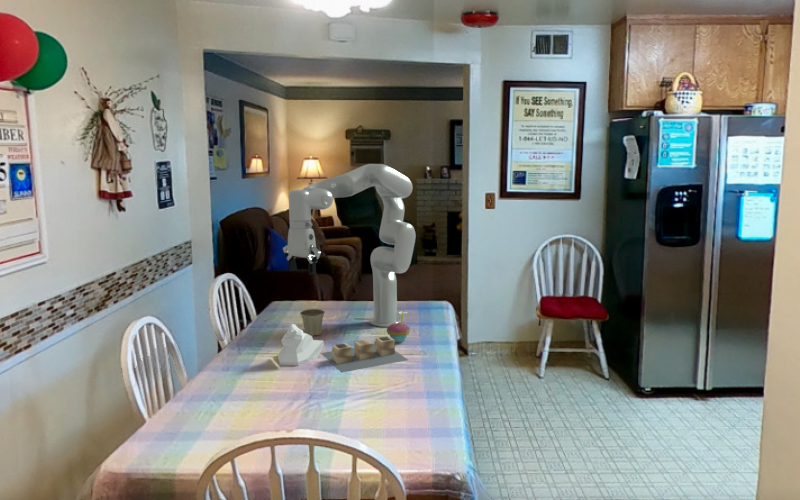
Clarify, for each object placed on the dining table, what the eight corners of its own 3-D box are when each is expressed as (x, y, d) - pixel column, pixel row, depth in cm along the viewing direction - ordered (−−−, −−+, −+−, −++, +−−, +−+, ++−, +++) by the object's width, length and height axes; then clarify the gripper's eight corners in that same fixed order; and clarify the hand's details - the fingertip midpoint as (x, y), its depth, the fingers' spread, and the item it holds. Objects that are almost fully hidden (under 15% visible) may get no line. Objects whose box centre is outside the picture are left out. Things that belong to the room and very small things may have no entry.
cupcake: (410, 338, 220) (410, 307, 218) (408, 345, 212) (408, 314, 210) (388, 337, 221) (387, 307, 219) (385, 345, 213) (384, 313, 211)
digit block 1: (346, 356, 199) (345, 342, 199) (351, 361, 195) (351, 346, 194) (332, 359, 197) (332, 344, 196) (337, 363, 193) (337, 348, 192)
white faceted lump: (314, 372, 191) (306, 336, 186) (272, 373, 195) (262, 337, 189) (325, 351, 203) (317, 315, 197) (285, 351, 206) (276, 317, 200)
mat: (383, 344, 214) (383, 342, 214) (408, 361, 196) (408, 359, 196) (321, 354, 203) (321, 353, 203) (341, 374, 186) (341, 372, 186)
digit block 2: (388, 349, 206) (388, 335, 206) (394, 353, 202) (394, 339, 201) (375, 351, 204) (375, 337, 203) (381, 356, 200) (381, 341, 199)
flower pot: (323, 337, 222) (322, 315, 221) (298, 337, 222) (298, 315, 221) (327, 330, 231) (326, 309, 230) (303, 330, 231) (302, 309, 230)
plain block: (367, 353, 203) (367, 339, 202) (373, 357, 199) (373, 343, 198) (354, 355, 201) (354, 341, 200) (360, 360, 196) (359, 345, 196)
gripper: (326, 225, 204) (327, 273, 207) (290, 222, 214) (292, 268, 217) (311, 227, 198) (313, 277, 201) (275, 224, 208) (277, 271, 210)
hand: (302, 272), depth 209 cm, fingers open, 9 cm apart
